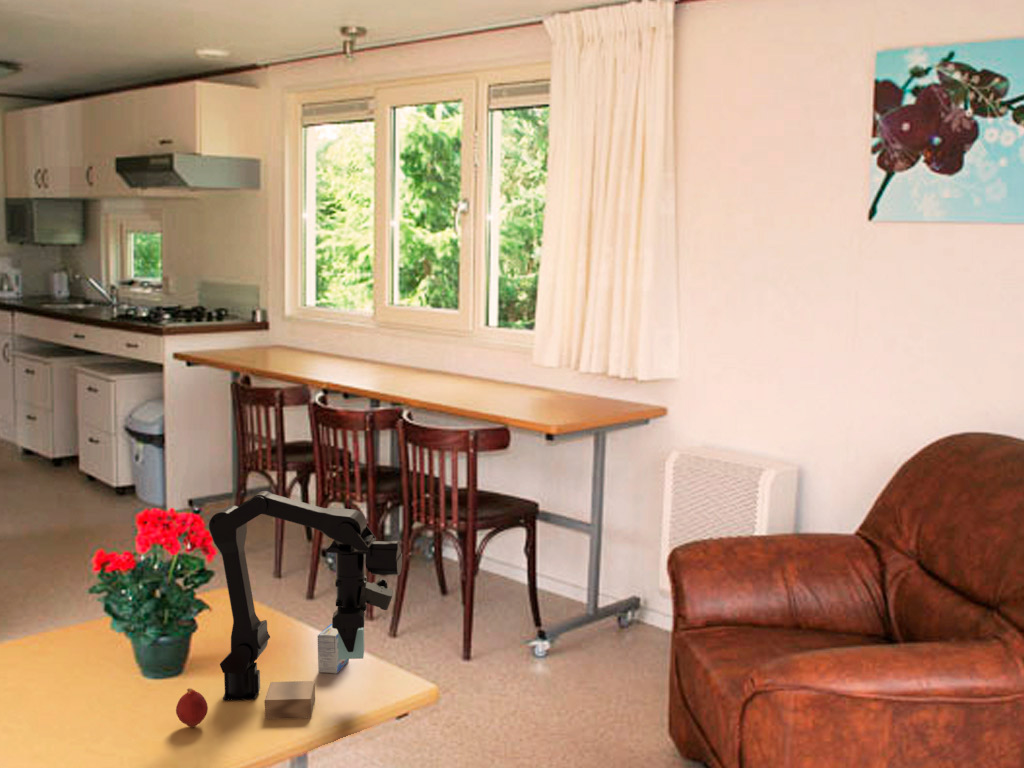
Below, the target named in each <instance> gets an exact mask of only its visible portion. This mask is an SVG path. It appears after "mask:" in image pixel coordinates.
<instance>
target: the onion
mask: <svg viewBox="0 0 1024 768" xmlns="http://www.w3.org/2000/svg"><path fill="white" fill-rule="evenodd" d="M208 709H209V705H208V703H207V700H206V698H205V697H204V695H203V694H201V693H200V692H199V691H196V689H193V688H192V687H189V688H187V689H186V692H185V693H184V694H183V695H182V696H181V697H180V698H179V699H178V702H177V705H176V709H175V713H176V716H177V717H178V719H179V721H180V722H181V723H183V724H184V725H186V726H188V727H189V728H195V727H196V726H199V724H200V723H202V722H203V720H205V718H206V716H207V714H208Z"/></svg>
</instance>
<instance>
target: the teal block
mask: <svg viewBox="0 0 1024 768" xmlns="http://www.w3.org/2000/svg"><path fill="white" fill-rule="evenodd" d="M364 655H365V626H364V627H363V628H359V629H358V630H357V634H356V639H355V645H354V650H353V652H348V651H347V649H346V647H345V645H344V643H343V641H342V638H341V637H340V634H339V633H338V659H349V660H354V659H355V660H359V659H364V657H365V656H364Z"/></svg>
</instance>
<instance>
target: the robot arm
mask: <svg viewBox="0 0 1024 768" xmlns="http://www.w3.org/2000/svg"><path fill="white" fill-rule="evenodd" d="M260 515H265V516H268V517H272V518H276V519H278V520H279V519H280V520H283V521H286V522H290V523H294V524H297V525H301V526H304V527H307V528H311V529H315V530H317V531H318V532H319V531H320V532H321V533H322V534H323V535H325V536H326V537H327V538H330V539H331V540H333V541H332V542H331V544H330V545H328V546H327V547H326V549H325V553H327V554H328V553H329V554H331V553H332V554H335V575H336V577H335V578H336V579H335V587H336V589H335V590H336V593H335V594H336V596H335V597H336V598H335V599H336V600H335V607H337V609H336V610H335V611H334V612H333V613H332V618H331V619H332V621H331V622H332V623H331V624H332V628H335V629H337V631H338V633H339V634H340V637H341V638H342V641H343V643H344V645H345V647H346V649H347V651H348V652H353V650H354V645H355V639H356V634H357V630H358V629H359V628H363V627H364V628H365V624H366V617H365V616H366V613H365V612H366V610H367V608H368V607H367V606H368V605H369V606H370V605H371V606H373V607H377V608H380V610H383V611H387V610H388V609H389V607H390V603H391V602H392V599H393V596H394V595H393V593H394V590H392V587H388V585H389V584H388V580H387V579H385V578H382V577H380V578H379V579H378V580H377V581H376V582H373V581H372V582H369V581H368V578H367V577H368V576H367V575H366V574H365V571H366V570H367V572H368V573H370V574H371V575H375V576H376V575H378V576H379V575H383V576H384V575H385V576H400V575H401V573H402V567H403V553H402V548H401V546H400V540H391V541H383V540H382V541H380V540H379V541H378V540H377V537H376V535H375V534H374V533H373V532H372V530H371V529H370V528H369V526H368V525H367V520H366V517H365V515H364V513H362V512H361V511H359V510H358V509H351V508H350V509H349V508H343V507H342V508H340V507H337V508H327V507H326V508H325V507H320V506H319V505H314V504H310V503H307V502H303V501H300V500H296V499H292V498H288V497H285V496H281V495H279V494H274V493H272V492H270V491H267V490H262V491H260V492H258V493H257V494H256V495H253V497H251V498H249V499H247V500H245V501H244V502H242V503H240V504H239V505H232V504H231V505H227V506H225V507H224V508H222V509H220V511H218V512H216V513H215V514H214V515H212V517H211V518H210V519H209V522H208V530H209V532H210V533H209V534H210V536H211V539H212V540H213V545H215V547H216V548H217V549H218V551H219V553H220V554H221V558H222V563H223V570H224V575H225V579H226V585H227V592H228V596H229V603H230V609H231V614H232V621H233V622H232V628H231V633H230V634H231V635H230V652H229V653H228V654H227V655H226V656H225V657H224V658H223V660H222V661H221V662H220V663H219V666H220V669H221V671H222V673H223V677H224V679H223V680H224V694H223V696H222V700H223V701H247V700H248V701H249V700H250V701H253V700H255V699H256V698H257V695H258V694H259V692H260V691H261V690H260V689H261V670H260V669H258V663H257V662H256V661H257V660H258V658H259V657H261V655H262V653H263V652H264V651H265V649H266V648H267V647H268V645H269V643H268V642H269V640H270V639H271V635H270V633H269V631H268V621H267V620H268V619H267V620H266V619H264V620H260V619H259V617H258V615H257V614H256V610H255V604H254V598H253V594H252V593H253V591H252V586H251V581H250V575H249V568H248V564H247V563H248V562H247V558H246V553H245V545H246V539H247V532H248V530H247V529H248V527H247V526H248V525H247V524H248V523H249V522H250V521H252V520H254V519H255V518H256V517H258V516H260ZM376 540H377V541H376ZM365 568H366V570H365ZM367 604H368V605H367Z"/></svg>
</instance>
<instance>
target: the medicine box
mask: <svg viewBox="0 0 1024 768" xmlns="http://www.w3.org/2000/svg"><path fill="white" fill-rule="evenodd" d="M349 660H350V659H338V631H337V629H335V628H332V623H330V624H329V625H327V627H326V628H324V629H323V630H322V631H321V632H319V634H318V635H317V663H318V664H317V666H318V673H322V674H323V673H324V674H334V675H335V674H337V675H338V673H339V672H340V671H341V670H342V669H343V668H344V666H345V665H346V664H347V663H348V662H349ZM341 668H342V669H341Z"/></svg>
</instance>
